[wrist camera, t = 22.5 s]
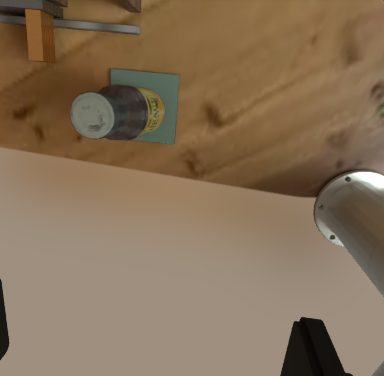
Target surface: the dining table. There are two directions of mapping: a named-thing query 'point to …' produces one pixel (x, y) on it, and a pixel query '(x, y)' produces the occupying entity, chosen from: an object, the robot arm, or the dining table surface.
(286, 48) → the dining table surface
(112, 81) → the mat
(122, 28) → the cradle
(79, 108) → the sauce bottle
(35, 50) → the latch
